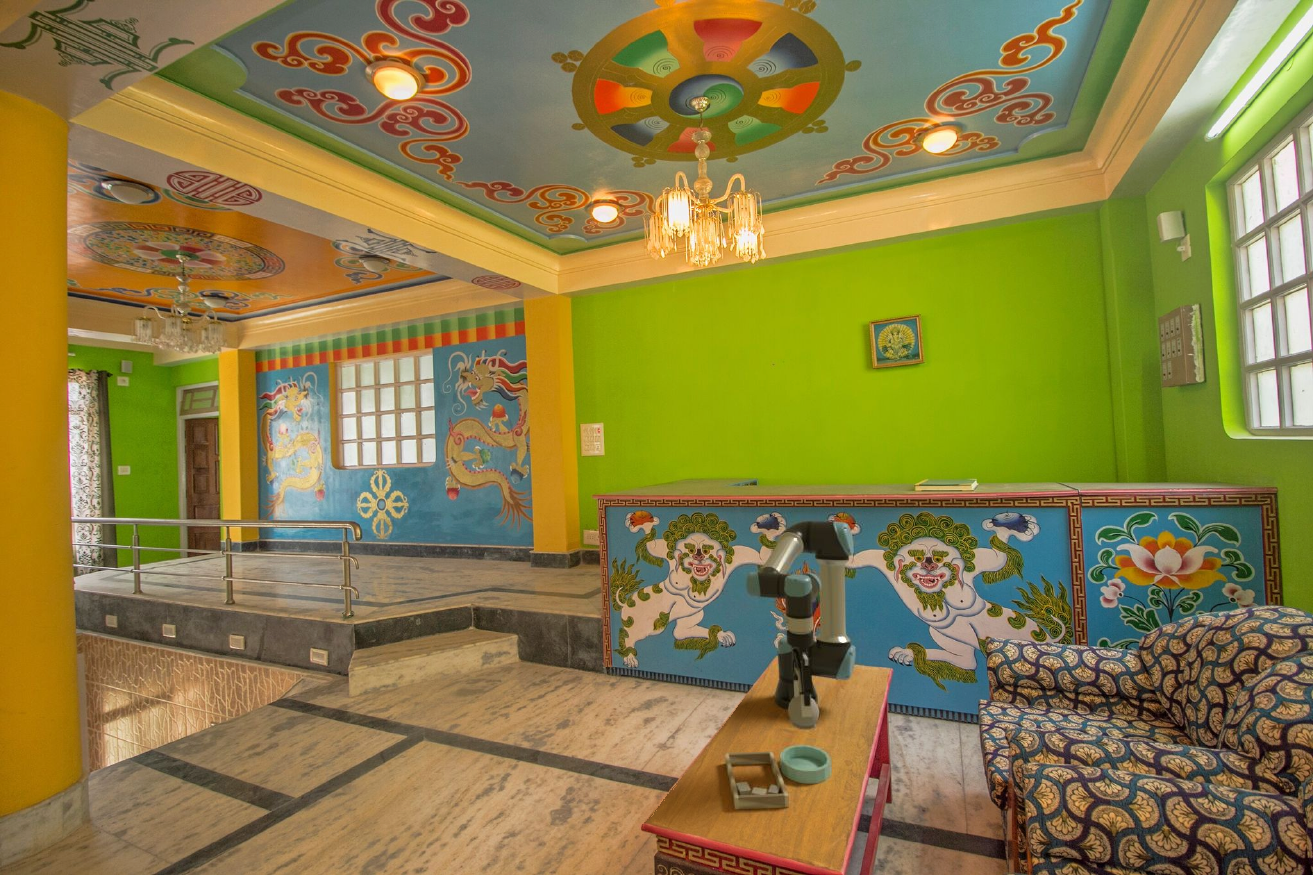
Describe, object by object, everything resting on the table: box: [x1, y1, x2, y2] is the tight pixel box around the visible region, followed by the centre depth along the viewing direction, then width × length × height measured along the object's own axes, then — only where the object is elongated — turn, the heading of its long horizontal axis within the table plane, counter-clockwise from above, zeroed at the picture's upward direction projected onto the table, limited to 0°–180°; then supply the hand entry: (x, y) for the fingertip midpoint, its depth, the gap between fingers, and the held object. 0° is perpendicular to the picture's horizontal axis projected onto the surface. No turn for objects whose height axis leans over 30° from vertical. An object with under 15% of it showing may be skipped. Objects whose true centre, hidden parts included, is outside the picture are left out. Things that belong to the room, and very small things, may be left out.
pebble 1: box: [751, 787, 768, 795], centre depth 160 cm, size 4×3×2 cm
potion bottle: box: [787, 664, 820, 731], centre depth 173 cm, size 9×9×18 cm
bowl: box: [779, 744, 832, 785], centre depth 173 cm, size 14×14×4 cm
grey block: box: [735, 781, 752, 795], centre depth 163 cm, size 4×3×2 cm
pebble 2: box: [767, 784, 781, 794], centre depth 161 cm, size 4×2×2 cm
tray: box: [724, 750, 790, 810], centre depth 167 cm, size 22×14×3 cm, turn 0°
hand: (803, 709), depth 173 cm, fingers closed on potion bottle, 8 cm apart
